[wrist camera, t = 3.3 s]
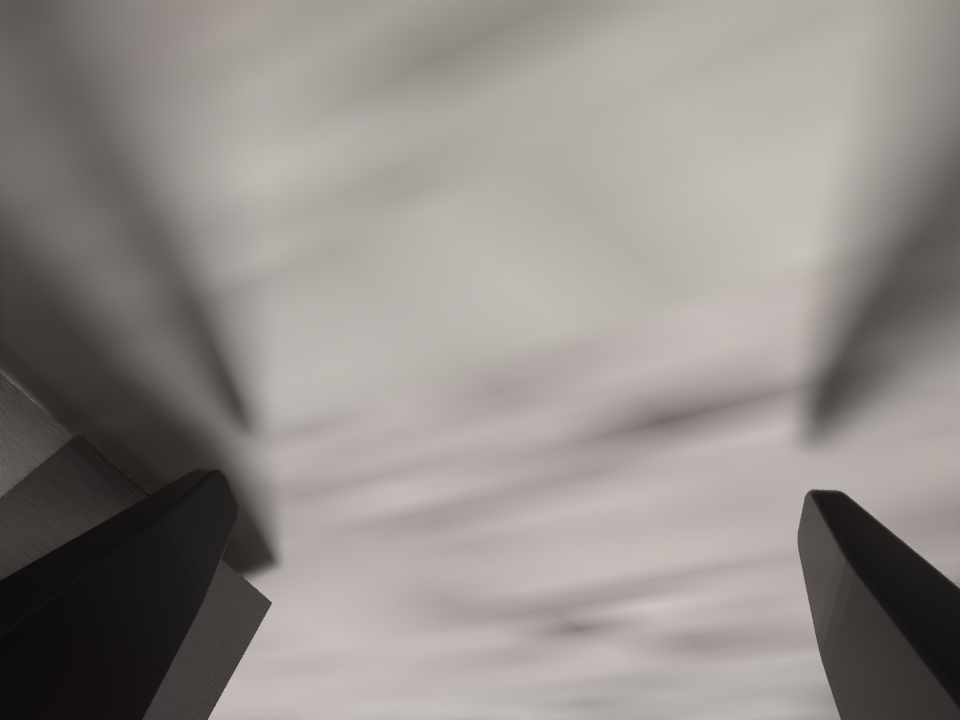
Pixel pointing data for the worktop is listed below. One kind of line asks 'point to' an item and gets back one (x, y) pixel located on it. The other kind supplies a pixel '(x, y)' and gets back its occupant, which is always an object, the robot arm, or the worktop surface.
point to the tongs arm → (83, 505)
